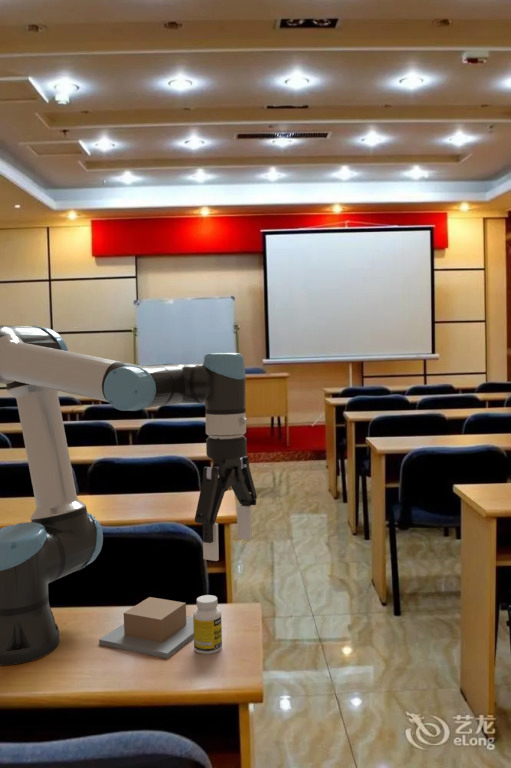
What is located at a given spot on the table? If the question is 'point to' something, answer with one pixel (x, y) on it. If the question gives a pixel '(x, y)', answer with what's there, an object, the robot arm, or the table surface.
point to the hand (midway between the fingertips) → (228, 548)
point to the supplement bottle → (207, 625)
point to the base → (148, 644)
